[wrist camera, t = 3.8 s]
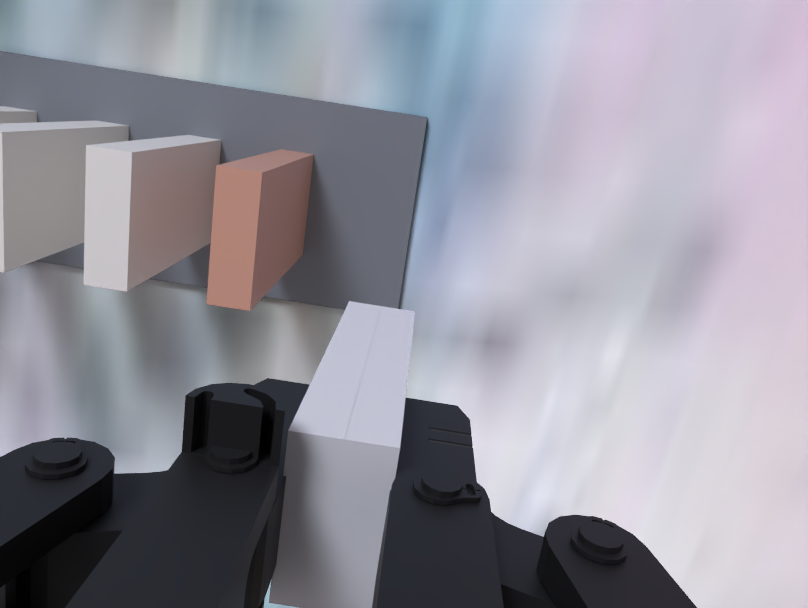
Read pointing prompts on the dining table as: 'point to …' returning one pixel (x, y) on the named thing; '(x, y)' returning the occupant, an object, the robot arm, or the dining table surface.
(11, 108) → the domino
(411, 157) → the mat
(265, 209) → the domino
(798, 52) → the dining table surface
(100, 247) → the domino
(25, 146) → the domino
